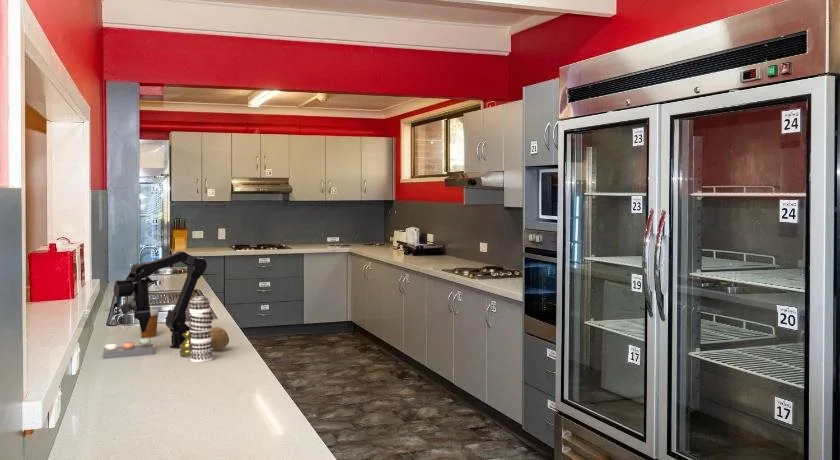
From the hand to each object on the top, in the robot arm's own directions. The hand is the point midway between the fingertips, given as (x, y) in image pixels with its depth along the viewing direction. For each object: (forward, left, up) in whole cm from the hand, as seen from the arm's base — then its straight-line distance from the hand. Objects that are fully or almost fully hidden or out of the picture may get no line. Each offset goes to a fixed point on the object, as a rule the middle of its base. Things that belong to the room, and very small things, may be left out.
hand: (143, 331), depth 316 cm
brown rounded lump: (-26, -15, -9) cm, 31 cm away
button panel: (+4, +4, -9) cm, 11 cm away
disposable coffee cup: (+24, -27, -9) cm, 37 cm away
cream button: (+9, +9, -6) cm, 14 cm away
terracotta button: (+4, +4, -6) cm, 9 cm away
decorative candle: (-31, 0, -9) cm, 32 cm away
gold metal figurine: (-21, -4, -9) cm, 23 cm away
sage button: (0, 0, -5) cm, 5 cm away
